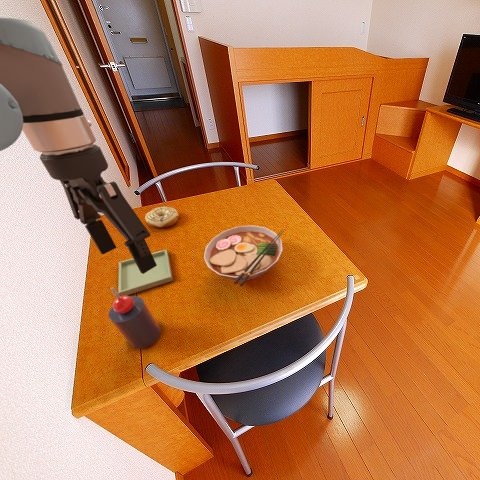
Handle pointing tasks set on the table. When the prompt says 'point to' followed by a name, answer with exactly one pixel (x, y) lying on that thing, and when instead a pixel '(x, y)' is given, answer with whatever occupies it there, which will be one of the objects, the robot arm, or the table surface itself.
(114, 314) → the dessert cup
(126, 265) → the serving tray
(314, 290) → the table surface
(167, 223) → the decorated donut
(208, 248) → the ramen bowl
